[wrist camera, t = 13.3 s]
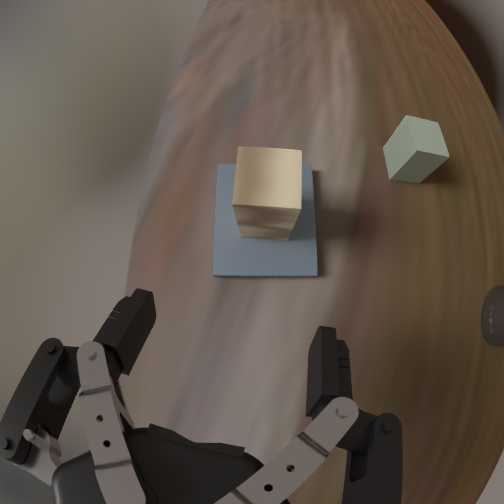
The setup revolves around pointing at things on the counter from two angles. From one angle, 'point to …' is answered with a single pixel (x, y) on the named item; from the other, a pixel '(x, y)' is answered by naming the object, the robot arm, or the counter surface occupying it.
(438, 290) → the counter surface
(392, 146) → the sage block
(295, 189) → the birch block
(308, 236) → the slate board
